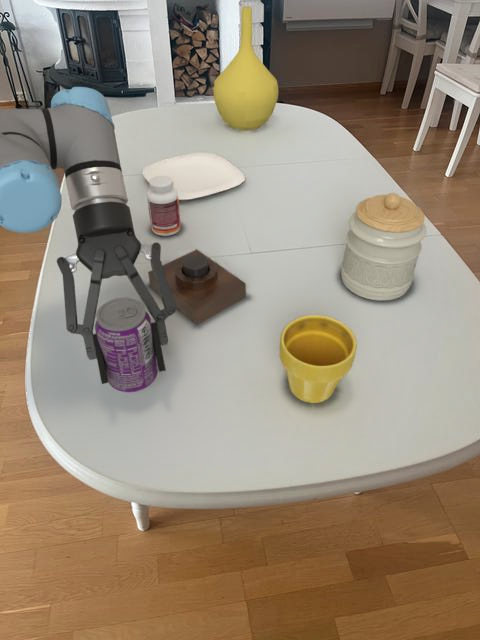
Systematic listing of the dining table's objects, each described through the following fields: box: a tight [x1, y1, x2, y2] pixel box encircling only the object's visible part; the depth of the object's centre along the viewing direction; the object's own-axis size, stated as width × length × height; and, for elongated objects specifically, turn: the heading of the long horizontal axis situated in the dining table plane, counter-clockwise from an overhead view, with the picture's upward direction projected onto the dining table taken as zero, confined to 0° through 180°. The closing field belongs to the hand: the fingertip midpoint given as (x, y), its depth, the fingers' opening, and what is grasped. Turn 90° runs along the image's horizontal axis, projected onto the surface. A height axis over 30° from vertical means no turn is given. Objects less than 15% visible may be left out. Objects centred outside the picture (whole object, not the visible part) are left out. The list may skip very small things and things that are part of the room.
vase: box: [212, 6, 279, 131], centre depth 143 cm, size 18×18×30 cm
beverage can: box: [94, 297, 159, 393], centre depth 70 cm, size 7×7×12 cm
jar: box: [340, 192, 427, 301], centre depth 91 cm, size 13×13×18 cm
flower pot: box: [279, 314, 358, 404], centre depth 74 cm, size 10×10×10 cm
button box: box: [147, 249, 247, 325], centre depth 92 cm, size 14×11×5 cm
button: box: [182, 255, 208, 278], centre depth 90 cm, size 4×4×2 cm
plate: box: [142, 151, 246, 201], centre depth 126 cm, size 22×22×2 cm
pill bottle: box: [146, 176, 182, 237], centre depth 106 cm, size 6×6×11 cm
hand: (133, 376), depth 69 cm, fingers closed on beverage can, 7 cm apart
